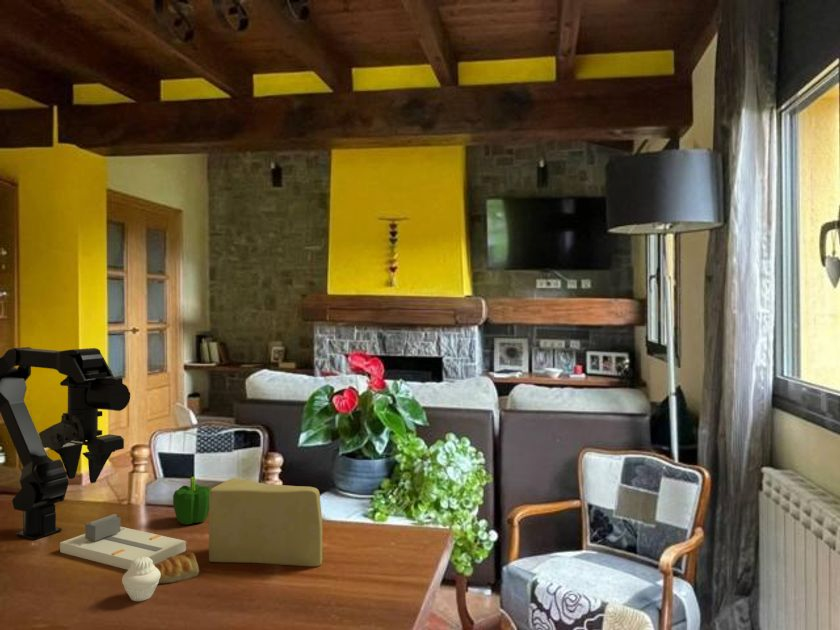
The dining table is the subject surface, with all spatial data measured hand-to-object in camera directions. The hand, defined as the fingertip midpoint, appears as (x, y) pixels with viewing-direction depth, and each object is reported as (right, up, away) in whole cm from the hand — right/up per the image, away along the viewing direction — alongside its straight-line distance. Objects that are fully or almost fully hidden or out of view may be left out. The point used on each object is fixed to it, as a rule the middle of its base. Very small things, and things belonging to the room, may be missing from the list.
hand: (82, 480), depth 135 cm
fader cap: (+6, -11, -3) cm, 12 cm away
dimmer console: (+11, -13, -5) cm, 18 cm away
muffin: (+24, -14, -25) cm, 37 cm away
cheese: (+42, -14, -8) cm, 45 cm away
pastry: (+26, -14, -17) cm, 34 cm away
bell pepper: (+19, -13, +13) cm, 27 cm away
